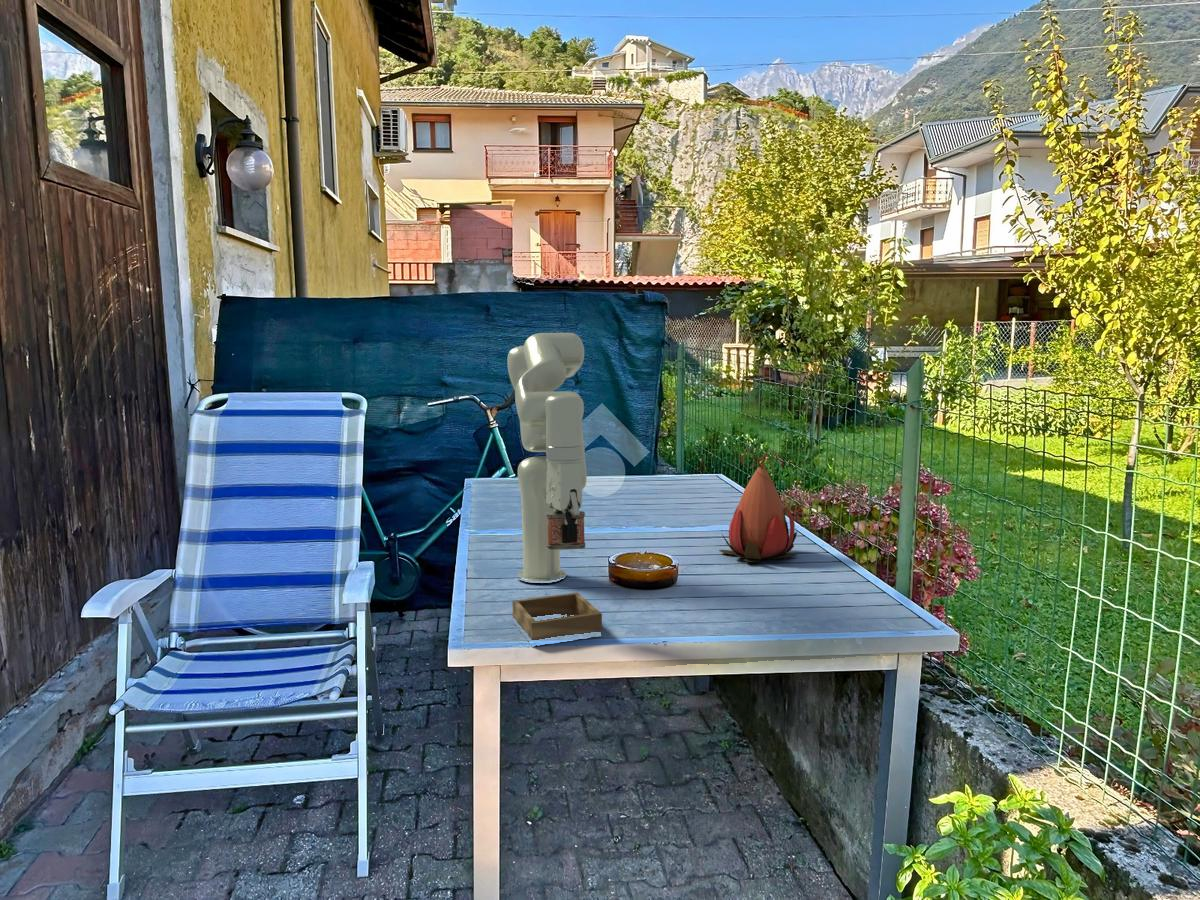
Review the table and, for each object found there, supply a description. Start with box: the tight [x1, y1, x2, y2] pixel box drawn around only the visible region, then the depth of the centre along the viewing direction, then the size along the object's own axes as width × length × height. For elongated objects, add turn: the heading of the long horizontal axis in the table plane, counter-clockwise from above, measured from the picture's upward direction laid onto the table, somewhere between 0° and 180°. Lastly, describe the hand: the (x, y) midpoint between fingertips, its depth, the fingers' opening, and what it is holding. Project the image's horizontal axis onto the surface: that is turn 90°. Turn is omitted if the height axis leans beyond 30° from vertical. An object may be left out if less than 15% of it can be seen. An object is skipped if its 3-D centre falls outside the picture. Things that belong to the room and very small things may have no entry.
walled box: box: [512, 592, 603, 640], centre depth 169 cm, size 15×15×5 cm
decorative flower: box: [718, 449, 798, 563], centre depth 223 cm, size 22×23×30 cm
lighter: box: [546, 502, 586, 551], centre depth 168 cm, size 8×3×10 cm, turn 94°
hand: (565, 539), depth 168 cm, fingers closed on lighter, 4 cm apart
